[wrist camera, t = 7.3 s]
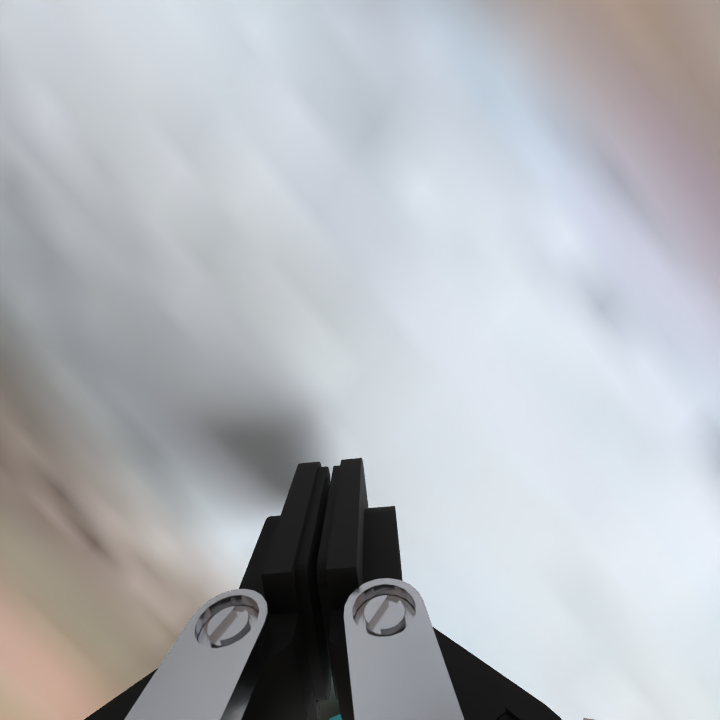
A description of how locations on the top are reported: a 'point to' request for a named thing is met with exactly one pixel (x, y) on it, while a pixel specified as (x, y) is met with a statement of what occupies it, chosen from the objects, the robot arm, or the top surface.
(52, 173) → the top surface
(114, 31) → the top surface
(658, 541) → the top surface
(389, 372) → the top surface
